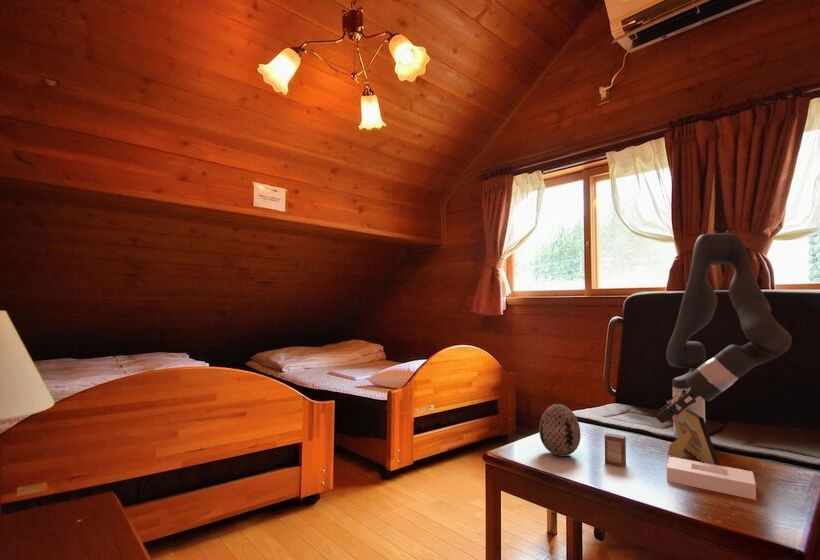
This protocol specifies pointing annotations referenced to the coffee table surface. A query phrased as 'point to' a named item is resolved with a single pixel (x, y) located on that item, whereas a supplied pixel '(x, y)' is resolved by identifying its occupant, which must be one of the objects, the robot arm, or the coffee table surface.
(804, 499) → the coffee table surface
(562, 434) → the decorative egg
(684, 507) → the coffee table surface
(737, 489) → the notch stand
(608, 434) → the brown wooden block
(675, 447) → the picture frame
